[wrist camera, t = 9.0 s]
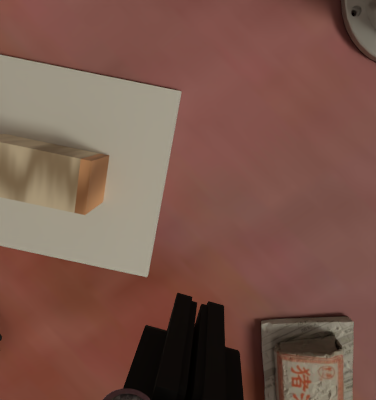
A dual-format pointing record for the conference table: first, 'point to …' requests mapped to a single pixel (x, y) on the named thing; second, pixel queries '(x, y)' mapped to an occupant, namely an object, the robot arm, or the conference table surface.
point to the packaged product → (308, 358)
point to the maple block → (51, 174)
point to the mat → (94, 142)
